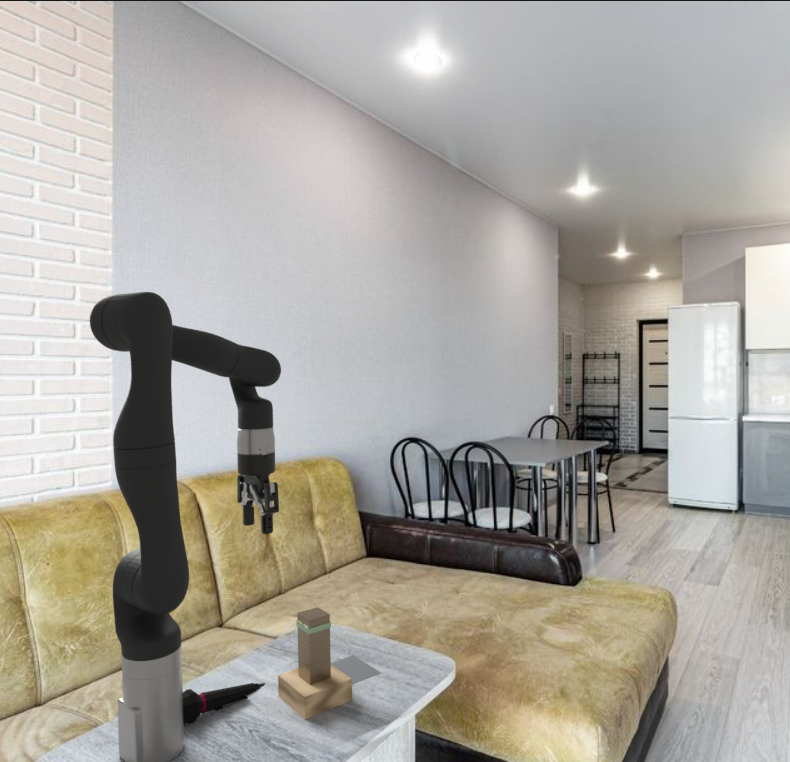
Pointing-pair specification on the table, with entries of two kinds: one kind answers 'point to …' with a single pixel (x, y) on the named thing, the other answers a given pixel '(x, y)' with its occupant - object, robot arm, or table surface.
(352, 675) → the coaster
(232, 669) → the table surface
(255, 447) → the robot arm
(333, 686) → the rest block
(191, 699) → the microphone
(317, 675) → the column
